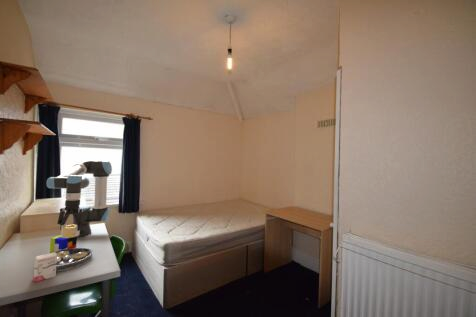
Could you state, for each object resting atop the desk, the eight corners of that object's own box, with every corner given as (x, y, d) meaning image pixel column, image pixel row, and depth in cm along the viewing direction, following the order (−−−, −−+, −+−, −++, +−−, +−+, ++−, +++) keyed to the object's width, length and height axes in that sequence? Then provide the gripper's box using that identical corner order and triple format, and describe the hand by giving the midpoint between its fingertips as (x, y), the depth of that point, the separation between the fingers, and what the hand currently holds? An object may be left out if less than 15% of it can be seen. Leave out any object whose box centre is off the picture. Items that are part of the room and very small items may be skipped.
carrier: (62, 252, 142) (63, 244, 142) (100, 253, 142) (101, 245, 142) (24, 271, 116) (25, 261, 116) (70, 273, 116) (71, 263, 116)
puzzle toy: (62, 254, 139) (63, 239, 139) (49, 253, 140) (50, 238, 140) (76, 248, 149) (76, 234, 149) (64, 247, 150) (65, 233, 150)
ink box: (33, 282, 106) (35, 259, 107) (32, 279, 109) (34, 256, 110) (56, 276, 113) (57, 254, 113) (54, 273, 116) (56, 251, 116)
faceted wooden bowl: (68, 233, 134) (69, 224, 135) (81, 234, 134) (81, 224, 135) (58, 237, 126) (59, 227, 127) (71, 238, 126) (72, 228, 127)
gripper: (51, 199, 127) (48, 236, 126) (85, 200, 128) (82, 237, 127) (61, 198, 135) (58, 233, 134) (93, 199, 136) (90, 234, 134)
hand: (70, 235), depth 130 cm, fingers closed on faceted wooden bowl, 8 cm apart
